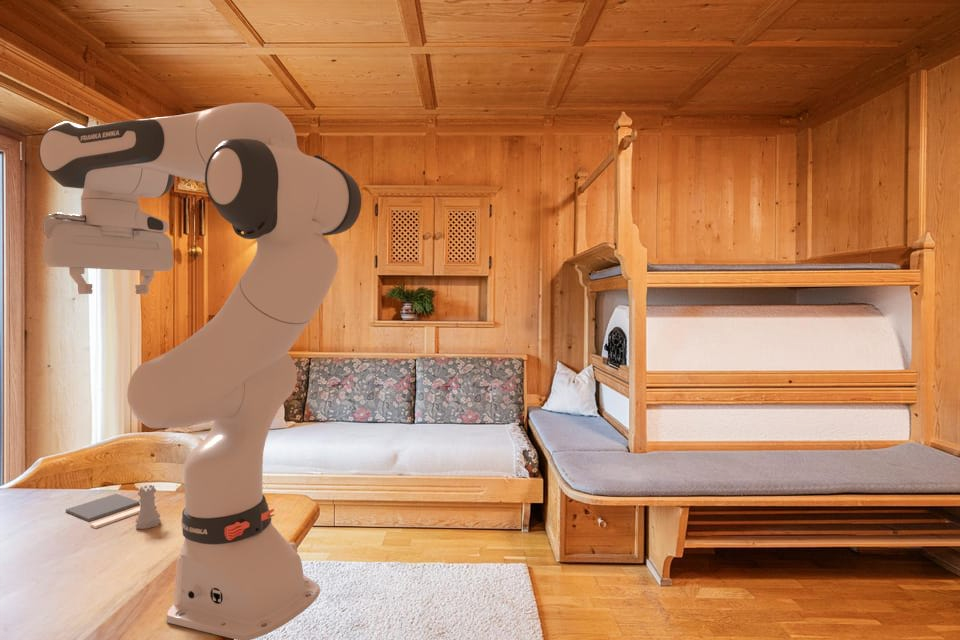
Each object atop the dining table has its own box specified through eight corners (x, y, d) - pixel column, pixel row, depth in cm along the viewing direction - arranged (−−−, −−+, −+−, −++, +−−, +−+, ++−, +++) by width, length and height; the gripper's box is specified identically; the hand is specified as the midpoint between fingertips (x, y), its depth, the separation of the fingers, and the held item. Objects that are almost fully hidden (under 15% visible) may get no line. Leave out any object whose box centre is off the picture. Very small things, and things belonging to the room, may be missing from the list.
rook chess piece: (148, 531, 102) (146, 492, 101) (129, 529, 103) (128, 490, 102) (166, 521, 106) (164, 484, 106) (148, 519, 107) (146, 482, 107)
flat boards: (156, 506, 114) (156, 504, 114) (95, 528, 103) (95, 525, 103) (120, 494, 121) (120, 492, 121) (60, 513, 110) (60, 511, 110)
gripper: (50, 209, 82) (54, 293, 83) (177, 224, 100) (179, 294, 101) (33, 212, 85) (37, 294, 86) (158, 226, 103) (161, 294, 104)
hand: (115, 294), depth 94 cm, fingers open, 8 cm apart
